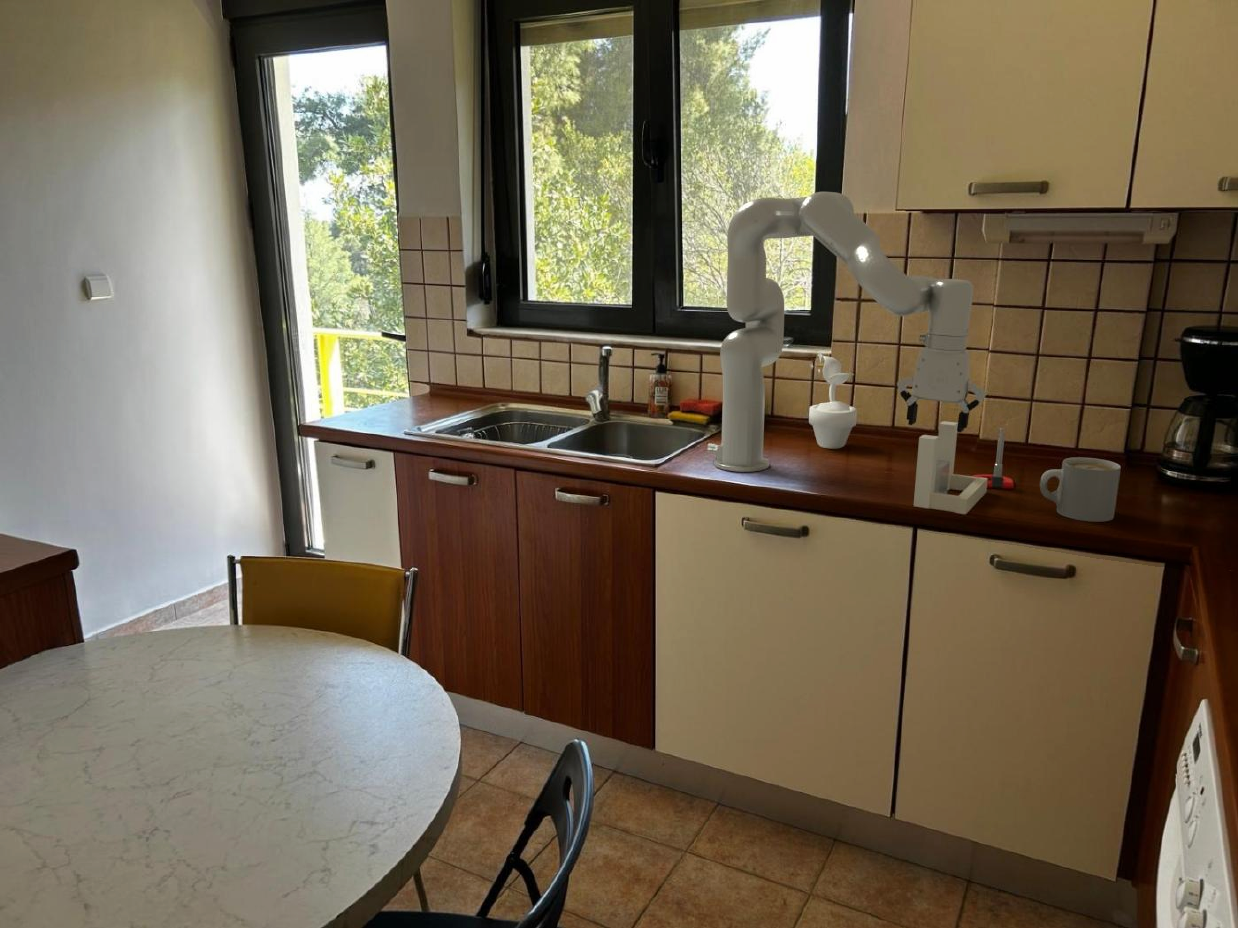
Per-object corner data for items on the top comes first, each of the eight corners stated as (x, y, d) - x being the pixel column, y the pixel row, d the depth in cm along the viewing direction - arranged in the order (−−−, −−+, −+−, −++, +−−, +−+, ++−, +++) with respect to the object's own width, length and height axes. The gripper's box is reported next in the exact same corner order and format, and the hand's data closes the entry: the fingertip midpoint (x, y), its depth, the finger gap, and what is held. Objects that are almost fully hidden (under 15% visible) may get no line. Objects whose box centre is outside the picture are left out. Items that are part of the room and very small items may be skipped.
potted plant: (799, 442, 235) (804, 345, 229) (841, 439, 238) (847, 343, 231) (821, 454, 223) (827, 351, 217) (865, 451, 226) (871, 350, 220)
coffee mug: (1115, 510, 179) (1122, 461, 177) (1112, 524, 171) (1119, 473, 168) (1040, 500, 186) (1046, 452, 183) (1034, 513, 178) (1040, 463, 175)
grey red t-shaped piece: (966, 478, 204) (976, 488, 195) (972, 421, 201) (982, 428, 192) (1006, 480, 202) (1018, 490, 193) (1012, 422, 200) (1024, 430, 191)
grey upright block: (917, 499, 187) (920, 466, 185) (927, 491, 193) (930, 458, 191) (937, 502, 185) (940, 468, 183) (946, 493, 191) (949, 461, 189)
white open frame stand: (913, 506, 182) (919, 437, 179) (937, 484, 197) (943, 421, 193) (965, 514, 177) (972, 444, 174) (986, 492, 192) (993, 426, 188)
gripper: (897, 340, 182) (887, 424, 187) (988, 350, 173) (976, 437, 178) (908, 336, 188) (898, 418, 193) (996, 345, 179) (984, 430, 184)
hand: (935, 427), depth 186 cm, fingers open, 9 cm apart
